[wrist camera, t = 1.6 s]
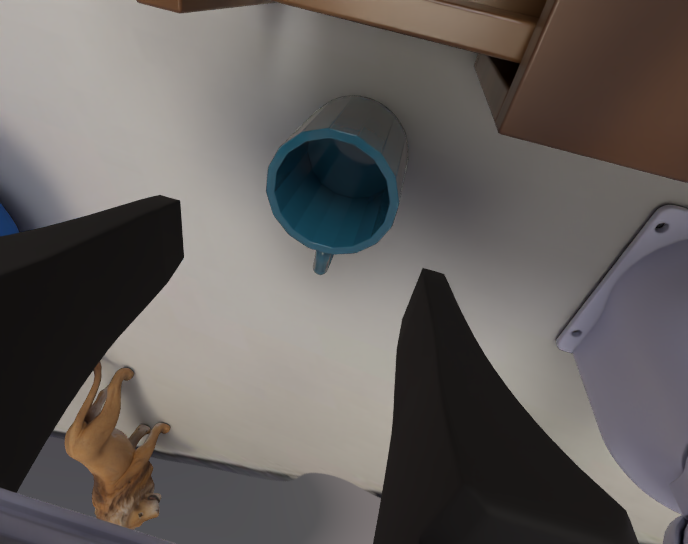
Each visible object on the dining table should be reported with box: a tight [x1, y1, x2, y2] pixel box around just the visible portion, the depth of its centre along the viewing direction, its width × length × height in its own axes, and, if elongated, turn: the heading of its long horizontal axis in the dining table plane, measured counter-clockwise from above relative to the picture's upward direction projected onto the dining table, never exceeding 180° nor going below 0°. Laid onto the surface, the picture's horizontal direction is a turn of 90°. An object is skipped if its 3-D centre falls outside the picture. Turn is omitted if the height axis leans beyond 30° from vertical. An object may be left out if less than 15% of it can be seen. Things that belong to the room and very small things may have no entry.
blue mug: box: [266, 96, 408, 275], centre depth 18 cm, size 7×5×5 cm
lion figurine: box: [65, 361, 170, 530], centre depth 34 cm, size 15×5×9 cm, turn 17°
